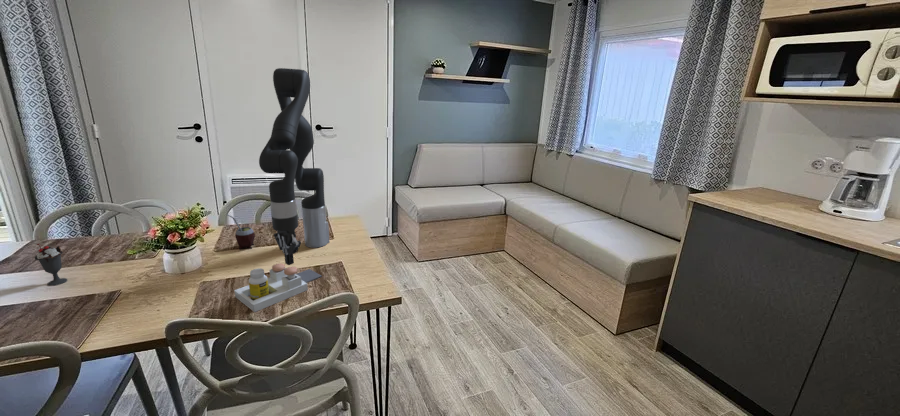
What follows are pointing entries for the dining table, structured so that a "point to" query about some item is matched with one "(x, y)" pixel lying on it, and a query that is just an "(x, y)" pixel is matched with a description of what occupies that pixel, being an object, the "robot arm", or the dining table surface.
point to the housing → (273, 291)
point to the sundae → (51, 263)
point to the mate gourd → (244, 236)
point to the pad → (308, 275)
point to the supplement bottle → (258, 284)
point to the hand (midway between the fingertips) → (289, 263)
